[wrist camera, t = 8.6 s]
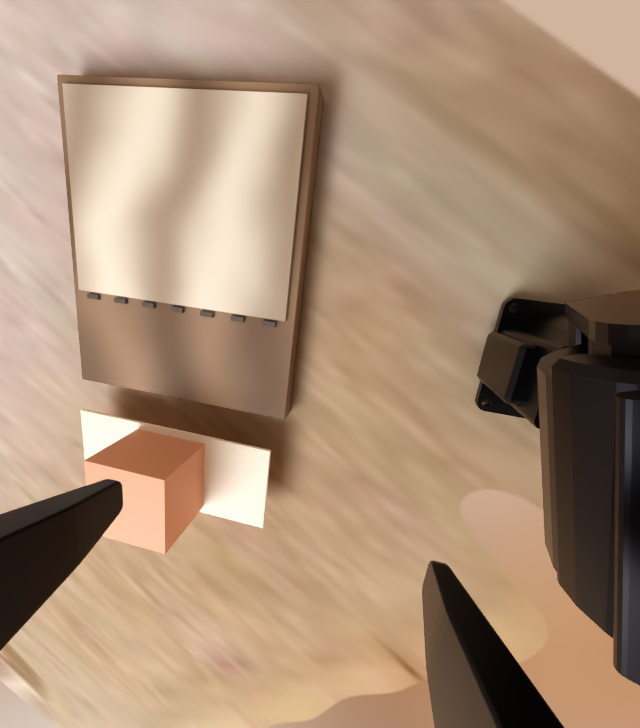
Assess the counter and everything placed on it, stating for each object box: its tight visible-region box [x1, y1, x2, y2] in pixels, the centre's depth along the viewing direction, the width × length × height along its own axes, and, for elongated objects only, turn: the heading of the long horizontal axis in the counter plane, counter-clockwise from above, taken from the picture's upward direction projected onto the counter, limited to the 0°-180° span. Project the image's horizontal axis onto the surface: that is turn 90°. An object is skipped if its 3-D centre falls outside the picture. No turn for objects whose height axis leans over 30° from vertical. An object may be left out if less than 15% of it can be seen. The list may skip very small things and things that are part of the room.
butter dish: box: [81, 409, 271, 554], centre depth 19 cm, size 14×6×4 cm, turn 83°
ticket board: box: [57, 75, 324, 419], centre depth 19 cm, size 15×18×2 cm
